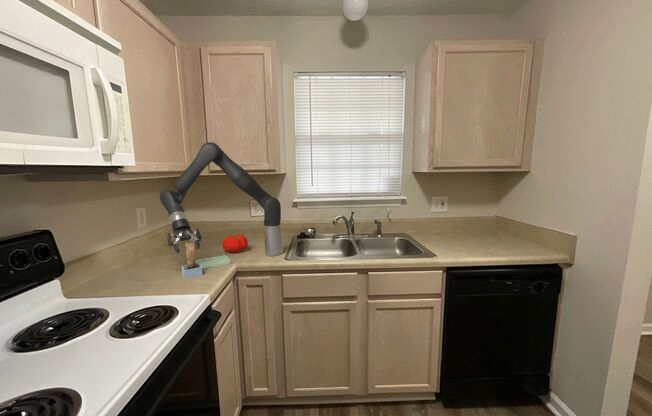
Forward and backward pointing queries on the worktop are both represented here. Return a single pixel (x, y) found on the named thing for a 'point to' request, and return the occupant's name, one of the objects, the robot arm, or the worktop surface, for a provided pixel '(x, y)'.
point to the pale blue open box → (192, 271)
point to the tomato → (234, 243)
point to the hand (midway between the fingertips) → (188, 250)
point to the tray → (214, 261)
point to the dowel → (190, 255)
